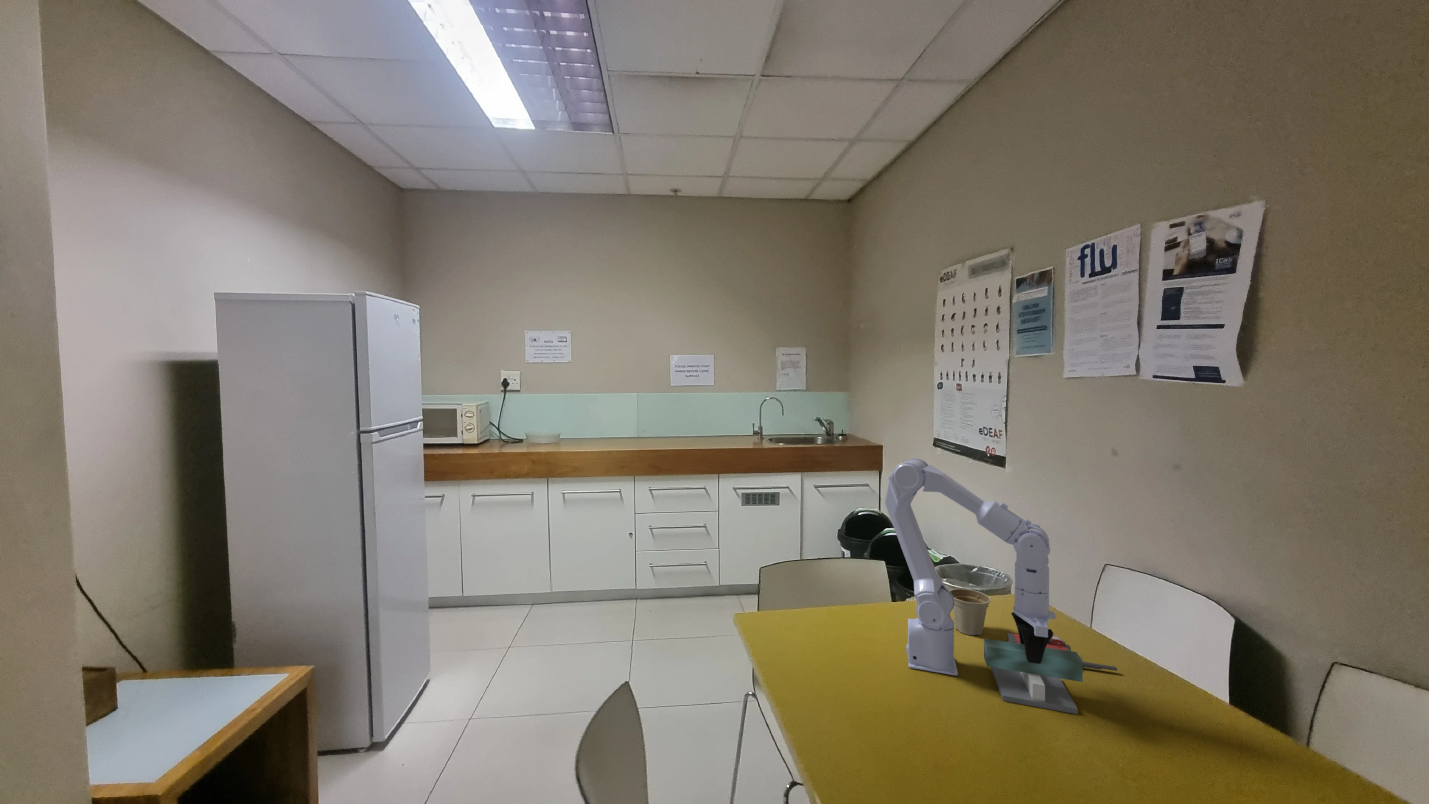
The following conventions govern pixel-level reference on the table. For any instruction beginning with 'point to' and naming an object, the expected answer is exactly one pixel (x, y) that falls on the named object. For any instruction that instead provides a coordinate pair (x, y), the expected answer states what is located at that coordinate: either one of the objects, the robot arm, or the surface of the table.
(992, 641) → the teal bar
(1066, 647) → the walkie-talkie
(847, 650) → the table surface
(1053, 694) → the stand
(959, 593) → the flower pot
